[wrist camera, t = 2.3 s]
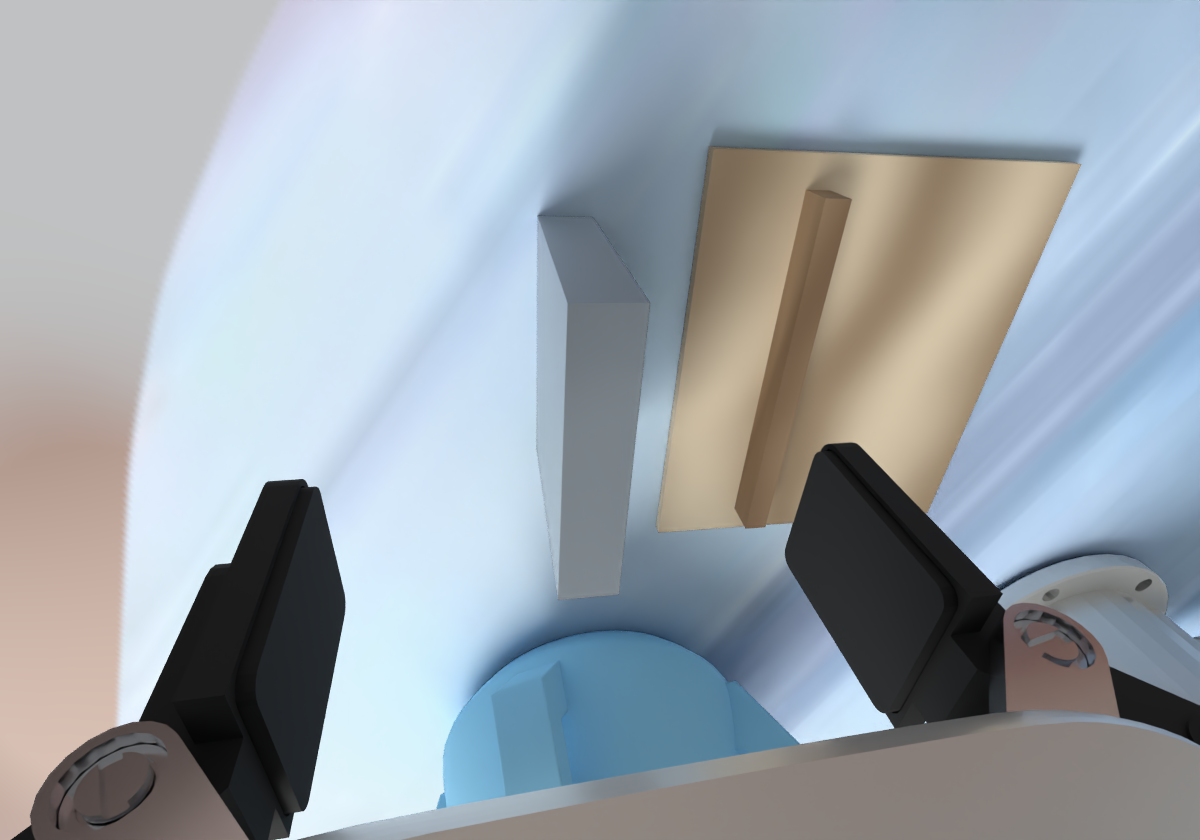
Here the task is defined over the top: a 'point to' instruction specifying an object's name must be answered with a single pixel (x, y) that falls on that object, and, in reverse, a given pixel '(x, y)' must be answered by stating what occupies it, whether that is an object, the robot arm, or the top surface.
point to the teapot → (598, 717)
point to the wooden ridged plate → (843, 319)
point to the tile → (586, 399)
